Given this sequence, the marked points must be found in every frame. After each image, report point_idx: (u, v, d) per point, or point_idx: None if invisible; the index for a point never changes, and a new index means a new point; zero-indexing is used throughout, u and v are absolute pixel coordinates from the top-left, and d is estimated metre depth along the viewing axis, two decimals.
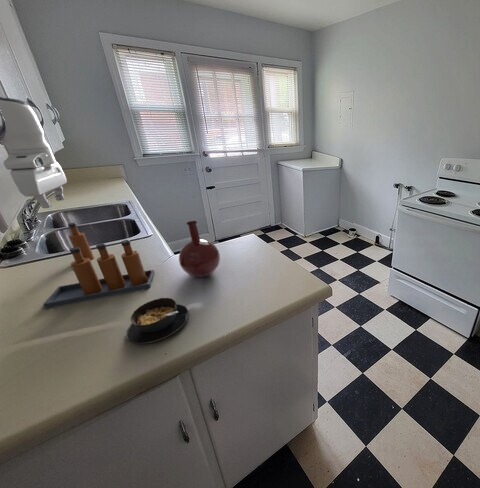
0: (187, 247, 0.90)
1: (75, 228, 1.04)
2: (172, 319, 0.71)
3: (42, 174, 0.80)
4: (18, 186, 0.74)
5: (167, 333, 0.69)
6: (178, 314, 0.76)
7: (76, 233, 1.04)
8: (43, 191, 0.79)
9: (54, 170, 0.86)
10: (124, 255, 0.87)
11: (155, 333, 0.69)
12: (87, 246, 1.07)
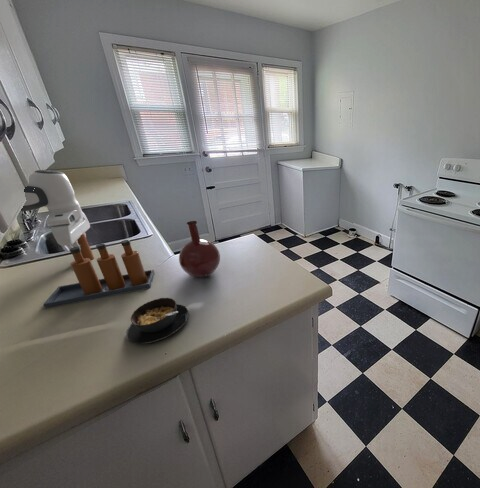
0: (187, 247, 0.90)
1: None
2: (172, 319, 0.71)
3: (73, 226, 1.01)
4: (56, 239, 0.95)
5: (167, 333, 0.69)
6: (178, 314, 0.76)
7: None
8: (74, 240, 1.00)
9: (81, 220, 1.07)
10: (124, 255, 0.87)
11: (155, 333, 0.69)
12: (87, 246, 1.07)
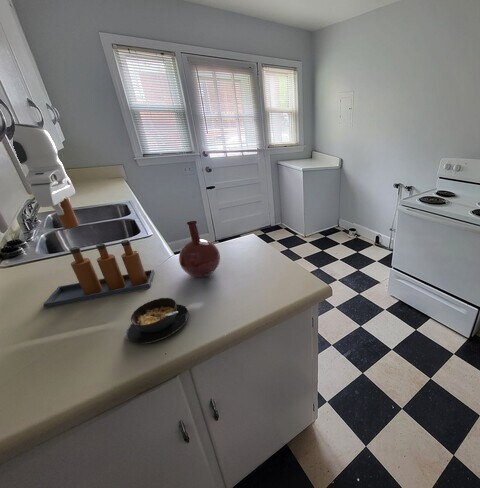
0: (187, 247, 0.90)
1: None
2: (172, 319, 0.71)
3: (56, 187, 0.94)
4: (36, 198, 0.88)
5: (167, 333, 0.69)
6: (178, 314, 0.76)
7: None
8: (56, 202, 0.93)
9: (65, 183, 1.01)
10: (124, 255, 0.87)
11: (155, 333, 0.69)
12: (71, 211, 1.00)
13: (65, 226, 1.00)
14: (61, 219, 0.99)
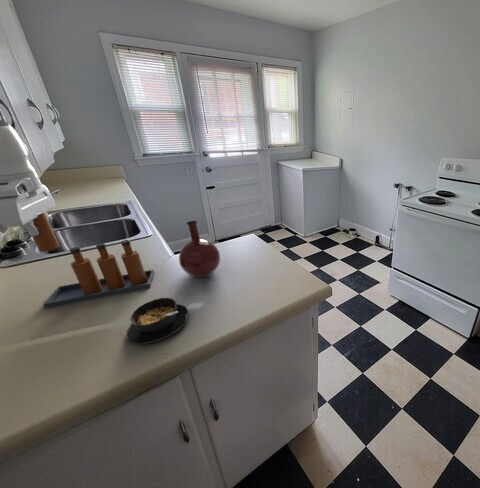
0: (187, 247, 0.90)
1: None
2: (172, 319, 0.71)
3: (26, 200, 0.73)
4: None
5: (167, 333, 0.69)
6: (178, 314, 0.76)
7: None
8: (27, 220, 0.71)
9: (40, 195, 0.79)
10: (124, 255, 0.87)
11: (155, 333, 0.69)
12: (49, 230, 0.79)
13: (41, 249, 0.79)
14: (36, 240, 0.78)
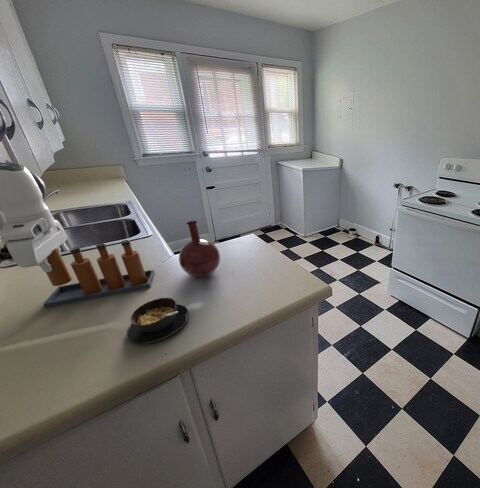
0: (187, 247, 0.90)
1: None
2: (172, 319, 0.71)
3: (41, 239, 0.75)
4: (15, 258, 0.69)
5: (167, 333, 0.69)
6: (178, 314, 0.76)
7: None
8: (42, 259, 0.74)
9: (53, 231, 0.81)
10: (124, 255, 0.87)
11: (155, 333, 0.69)
12: (62, 265, 0.81)
13: (54, 283, 0.81)
14: (49, 275, 0.80)
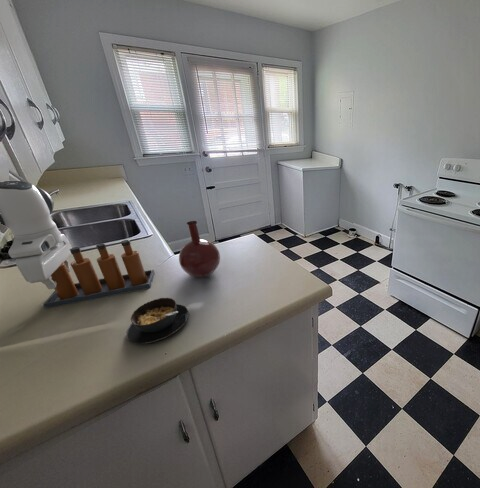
0: (187, 247, 0.90)
1: None
2: (172, 319, 0.71)
3: (48, 254, 0.77)
4: (23, 274, 0.71)
5: (167, 333, 0.69)
6: (178, 314, 0.76)
7: None
8: (49, 274, 0.76)
9: (60, 245, 0.83)
10: (124, 255, 0.87)
11: (155, 333, 0.69)
12: (69, 280, 0.83)
13: (61, 297, 0.83)
14: (56, 290, 0.82)
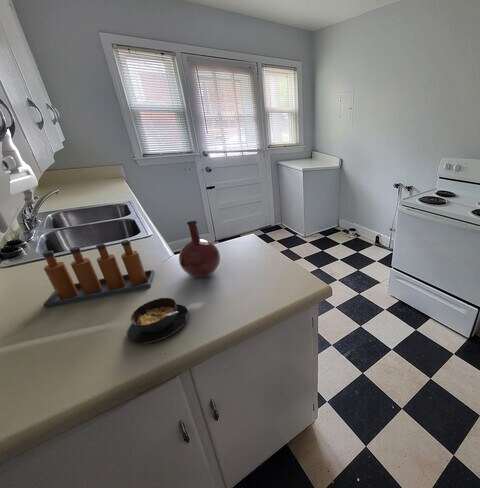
0: (187, 247, 0.90)
1: (52, 257, 0.80)
2: (172, 319, 0.71)
3: None
4: None
5: (167, 333, 0.69)
6: (178, 314, 0.76)
7: (54, 264, 0.80)
8: None
9: (23, 173, 0.85)
10: (124, 255, 0.87)
11: (155, 333, 0.69)
12: (69, 280, 0.83)
13: (61, 297, 0.83)
14: (56, 290, 0.82)
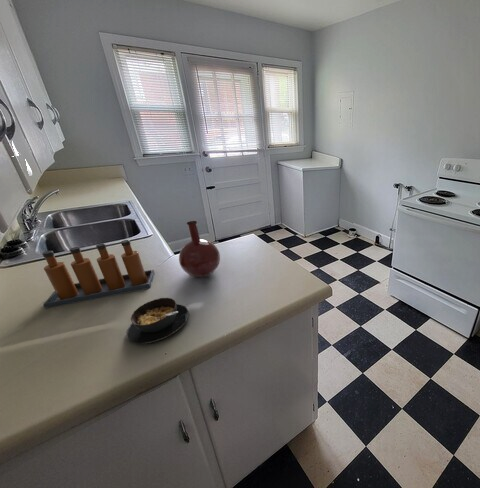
0: (187, 247, 0.90)
1: (52, 257, 0.80)
2: (172, 319, 0.71)
3: None
4: None
5: (167, 333, 0.69)
6: (178, 314, 0.76)
7: (54, 264, 0.80)
8: None
9: None
10: (124, 255, 0.87)
11: (155, 333, 0.69)
12: (69, 280, 0.83)
13: (61, 297, 0.83)
14: (56, 290, 0.82)
